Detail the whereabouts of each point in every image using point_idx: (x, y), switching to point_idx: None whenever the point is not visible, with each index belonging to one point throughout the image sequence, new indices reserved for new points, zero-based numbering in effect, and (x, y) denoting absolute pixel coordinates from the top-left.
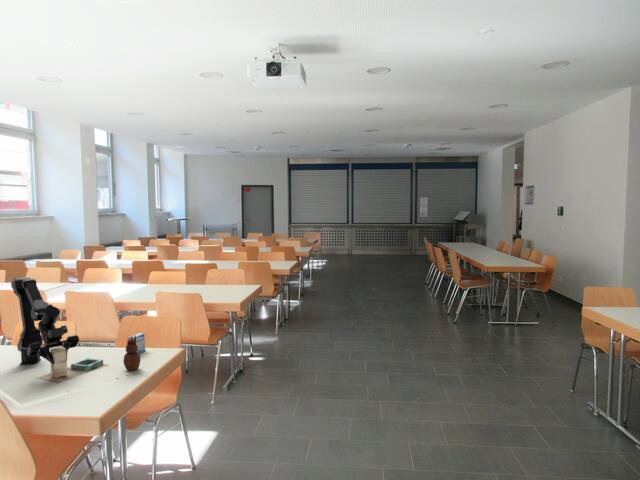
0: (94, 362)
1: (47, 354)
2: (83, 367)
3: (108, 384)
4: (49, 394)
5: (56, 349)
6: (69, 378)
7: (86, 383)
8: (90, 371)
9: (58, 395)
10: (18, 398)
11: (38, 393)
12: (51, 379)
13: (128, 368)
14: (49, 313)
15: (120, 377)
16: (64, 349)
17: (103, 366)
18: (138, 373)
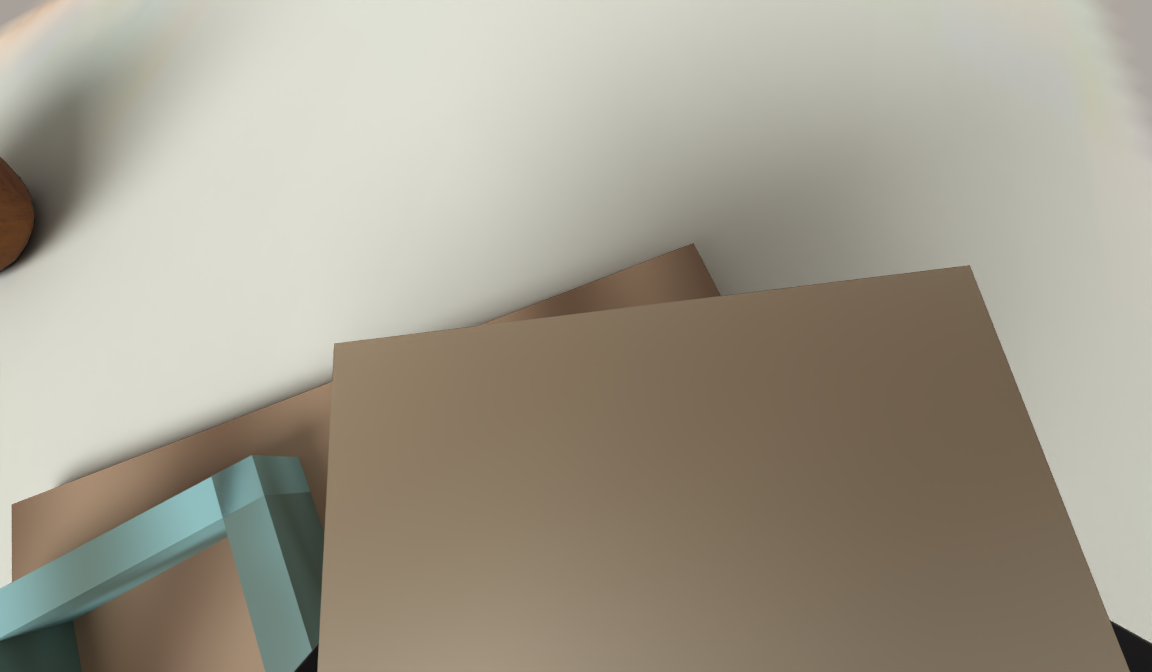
0: (85, 581)
1: (1147, 645)
2: (291, 523)
3: (353, 10)
4: (798, 75)
5: (828, 558)
6: (557, 311)
7: (465, 139)
8: (288, 403)
9: (735, 12)
10: (1067, 145)
11: (886, 158)
12: None
13: (15, 188)
14: None
15: (200, 101)
16: (438, 339)
17: (86, 495)
18: (53, 100)
